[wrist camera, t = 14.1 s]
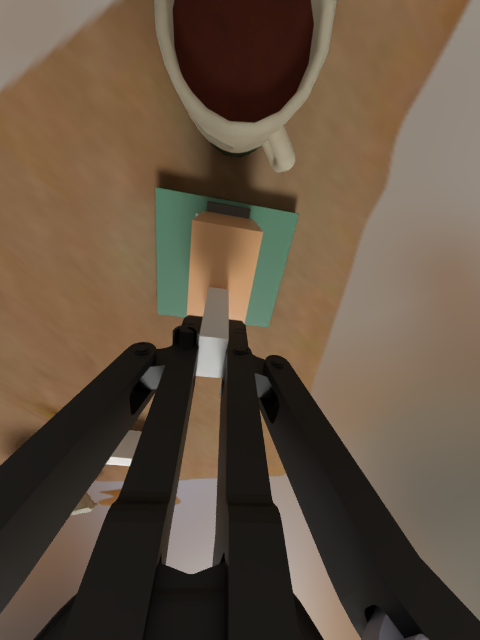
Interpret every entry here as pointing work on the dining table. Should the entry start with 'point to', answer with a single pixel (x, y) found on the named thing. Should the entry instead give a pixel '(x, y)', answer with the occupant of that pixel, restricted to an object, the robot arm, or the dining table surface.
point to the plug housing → (223, 261)
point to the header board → (176, 245)
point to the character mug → (244, 67)
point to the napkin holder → (125, 449)
